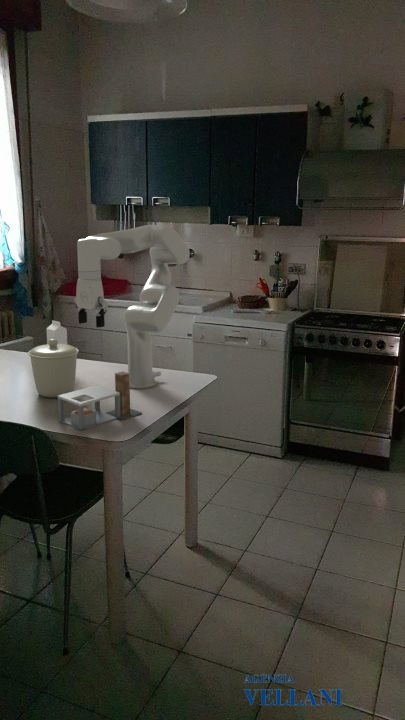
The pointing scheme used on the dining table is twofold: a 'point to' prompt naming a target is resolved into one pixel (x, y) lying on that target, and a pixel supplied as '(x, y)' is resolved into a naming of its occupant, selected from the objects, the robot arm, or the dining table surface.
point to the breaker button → (86, 411)
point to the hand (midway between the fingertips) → (91, 324)
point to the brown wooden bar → (123, 391)
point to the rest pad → (126, 416)
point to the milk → (57, 332)
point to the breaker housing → (96, 414)
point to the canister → (54, 368)
